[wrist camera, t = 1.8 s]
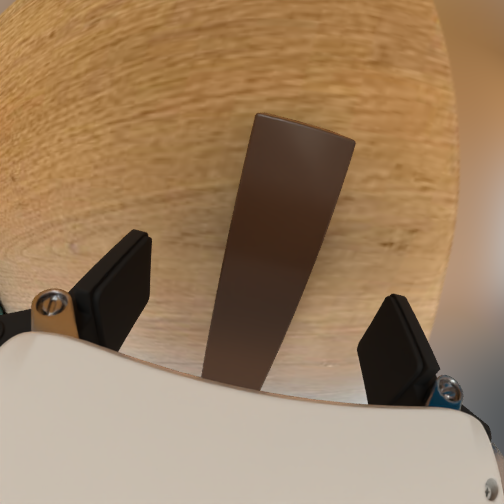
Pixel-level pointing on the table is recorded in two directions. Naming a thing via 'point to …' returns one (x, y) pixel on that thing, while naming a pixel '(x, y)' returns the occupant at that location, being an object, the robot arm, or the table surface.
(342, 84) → the table surface
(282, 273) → the brown wooden block
